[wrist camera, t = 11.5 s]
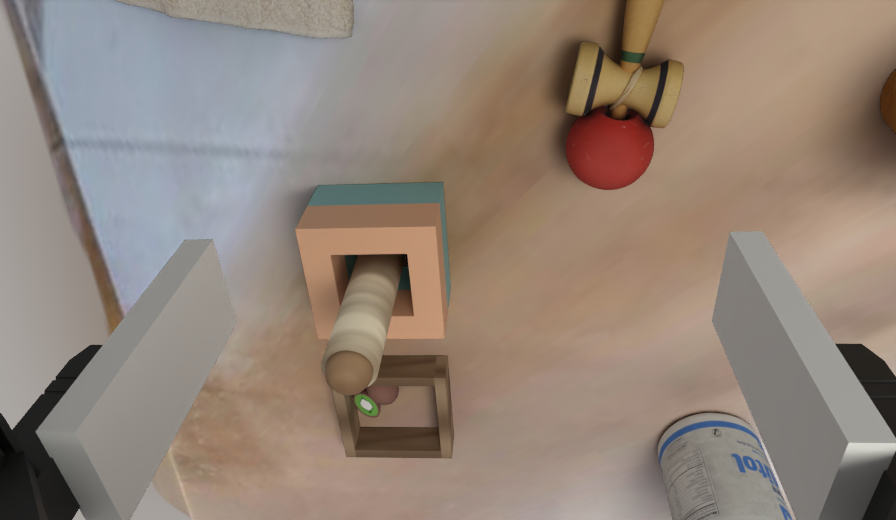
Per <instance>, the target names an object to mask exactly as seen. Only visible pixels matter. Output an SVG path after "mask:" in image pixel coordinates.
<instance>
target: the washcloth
mask: <svg viewBox="0 0 896 520" xmlns="http://www.w3.org/2000/svg"><path fill="white" fill-rule="evenodd" d="M116 1H119V2H122V3H125V4H128V5H134V6H140V7H145V8H150V9H152V10H155V11H159V12H163V13H165V14H167V15H168V16H170V17H175V18H184V19H194V20H201V21H209V22H217V23H222V24H228V25H233V26H239V27H243V28H252V29H260V30H261V29H264V30H272V31H280V32H285V33H290V34H295V35H301V36H309V37H314V38H347V37H351V36H352V28H353V24H354V14H353V12H354V7H353V0H116Z"/></svg>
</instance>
